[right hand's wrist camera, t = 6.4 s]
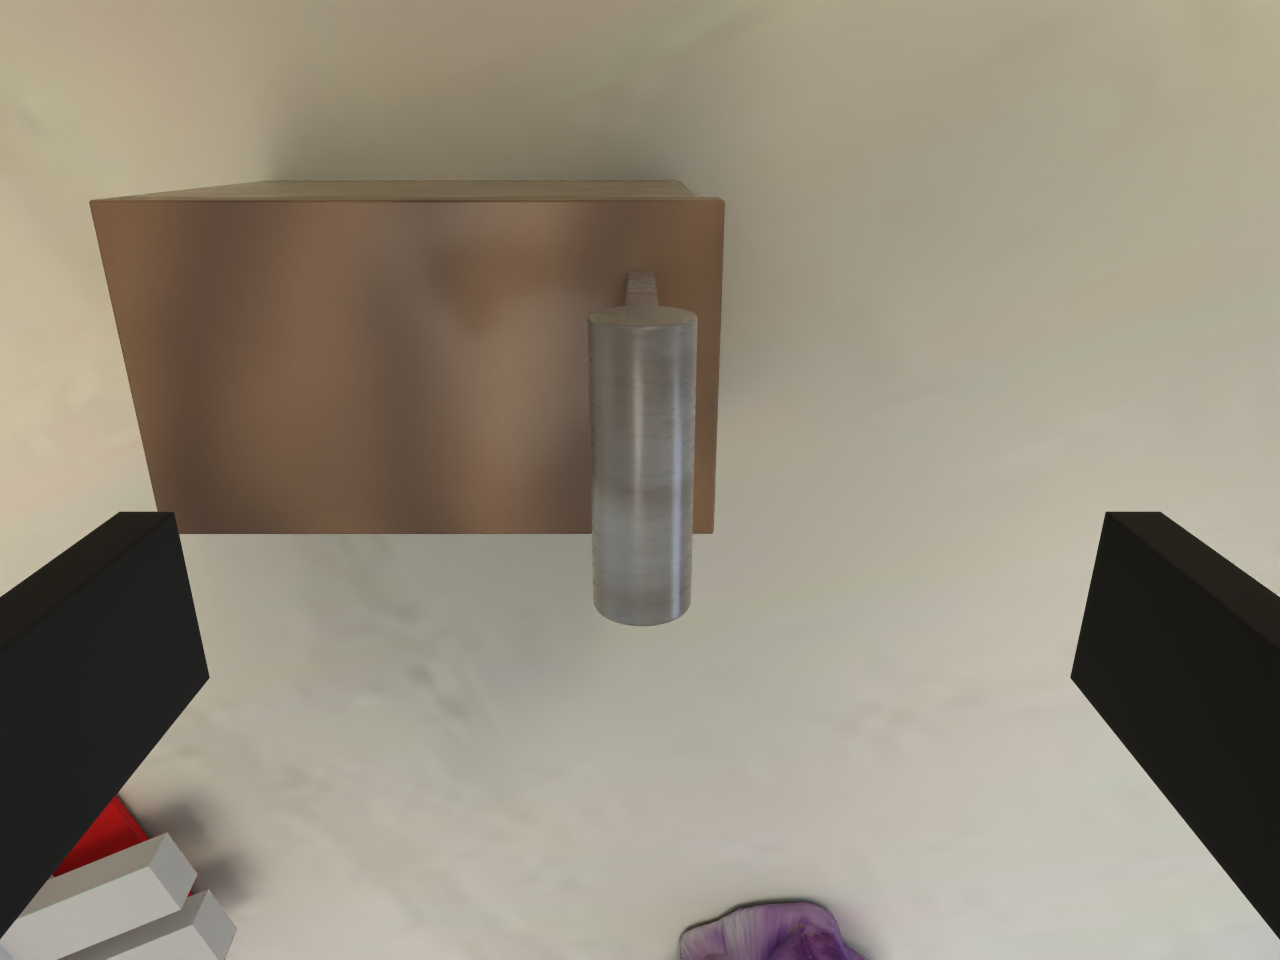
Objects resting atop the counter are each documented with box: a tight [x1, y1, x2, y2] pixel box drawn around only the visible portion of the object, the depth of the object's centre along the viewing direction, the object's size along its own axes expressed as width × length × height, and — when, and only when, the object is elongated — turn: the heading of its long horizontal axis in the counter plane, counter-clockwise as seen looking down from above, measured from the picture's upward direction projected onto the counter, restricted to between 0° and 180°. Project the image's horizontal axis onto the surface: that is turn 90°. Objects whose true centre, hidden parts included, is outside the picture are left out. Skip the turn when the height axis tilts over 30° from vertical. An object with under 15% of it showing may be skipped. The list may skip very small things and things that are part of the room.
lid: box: [89, 197, 725, 626], centre depth 21 cm, size 16×9×9 cm, turn 90°
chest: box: [118, 181, 696, 198], centre depth 29 cm, size 16×9×10 cm, turn 90°
